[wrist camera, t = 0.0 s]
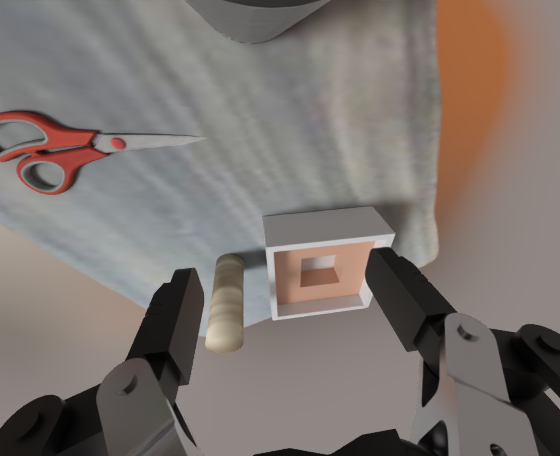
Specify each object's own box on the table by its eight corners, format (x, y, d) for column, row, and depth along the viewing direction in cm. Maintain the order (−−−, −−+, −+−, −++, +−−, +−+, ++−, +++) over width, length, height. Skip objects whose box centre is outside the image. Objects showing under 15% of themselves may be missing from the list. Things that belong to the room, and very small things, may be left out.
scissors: (222, 143, 23) (221, 147, 22) (41, 197, 24) (31, 204, 23) (186, 53, 19) (182, 52, 18) (-37, 124, 20) (-55, 129, 19)
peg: (213, 255, 32) (201, 337, 23) (241, 252, 33) (240, 332, 23) (219, 273, 35) (210, 355, 25) (245, 270, 35) (245, 350, 26)
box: (262, 216, 29) (265, 247, 24) (372, 206, 30) (395, 233, 26) (269, 288, 38) (272, 320, 34) (353, 277, 40) (367, 307, 35)
